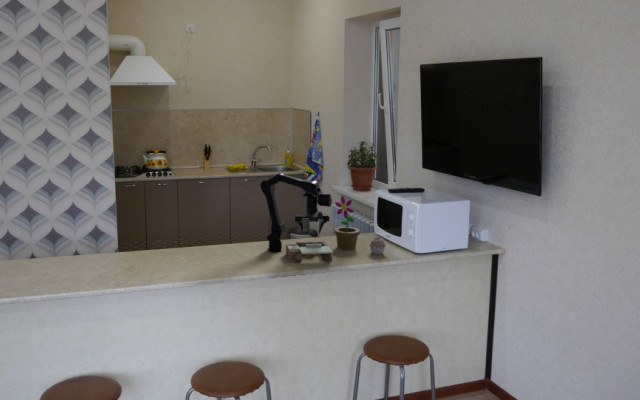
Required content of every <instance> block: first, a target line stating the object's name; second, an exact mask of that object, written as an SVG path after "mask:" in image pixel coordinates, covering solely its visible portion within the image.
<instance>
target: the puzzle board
mask: <svg viewBox="0 0 640 400" xmlns="http://www.w3.org/2000/svg"><path fill="white" fill-rule="evenodd" d="M306 244H322V246H329V244H328V243H327V242H326V241H325V240H319V241H318V240H317V241H309V240H308V241H295V243H287V244H285V256H286V257H287V259H288V261H289V263H302V262H303V261H302V260H303V254H302V253H301V252H300V250H299V249H298V247H306ZM330 249H331V250H332V251H333V249H332V248H331V247H330ZM322 255H323V256H324V258H327V259H326V260H327V261H328V262H332V261H333V253H322Z"/></svg>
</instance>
